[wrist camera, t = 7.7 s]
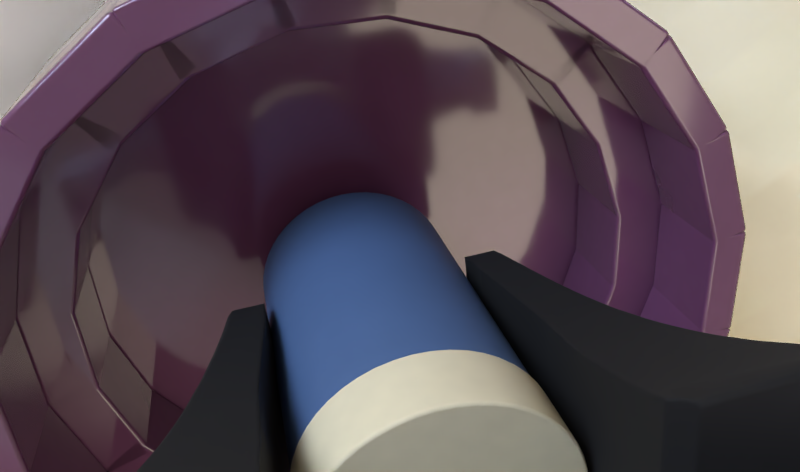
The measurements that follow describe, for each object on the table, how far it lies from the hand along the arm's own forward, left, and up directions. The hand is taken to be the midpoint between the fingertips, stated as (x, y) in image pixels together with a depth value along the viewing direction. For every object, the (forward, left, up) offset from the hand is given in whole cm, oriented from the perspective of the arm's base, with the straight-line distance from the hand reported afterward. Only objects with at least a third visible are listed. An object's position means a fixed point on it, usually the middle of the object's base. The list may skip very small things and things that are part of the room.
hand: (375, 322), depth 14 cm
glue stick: (0, 0, -2) cm, 2 cm away
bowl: (0, 0, -3) cm, 3 cm away
